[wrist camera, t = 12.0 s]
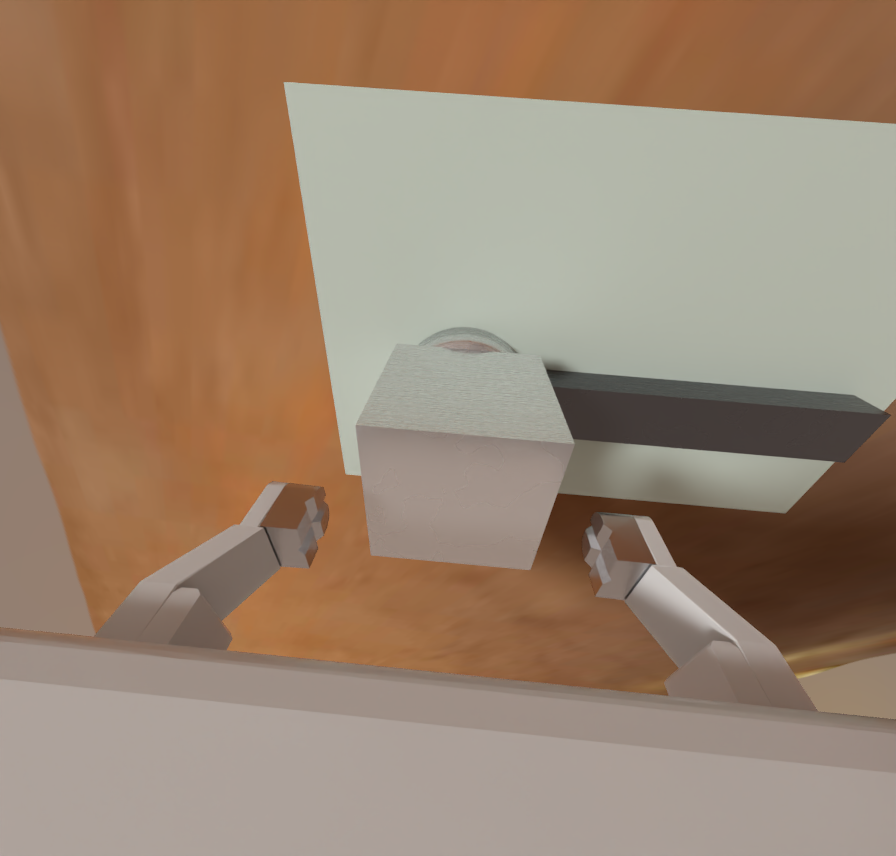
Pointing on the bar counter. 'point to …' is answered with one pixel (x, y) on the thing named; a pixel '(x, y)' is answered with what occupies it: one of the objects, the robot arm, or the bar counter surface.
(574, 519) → the bar counter surface
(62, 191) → the bar counter surface
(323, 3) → the bar counter surface
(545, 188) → the mat
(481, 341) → the lever
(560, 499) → the bar counter surface
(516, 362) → the grey box
